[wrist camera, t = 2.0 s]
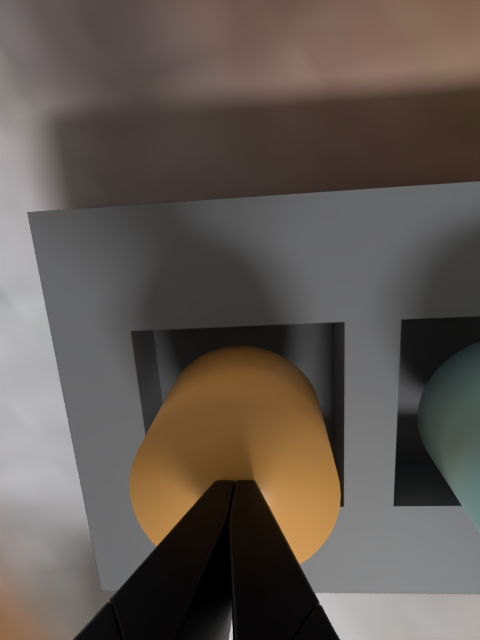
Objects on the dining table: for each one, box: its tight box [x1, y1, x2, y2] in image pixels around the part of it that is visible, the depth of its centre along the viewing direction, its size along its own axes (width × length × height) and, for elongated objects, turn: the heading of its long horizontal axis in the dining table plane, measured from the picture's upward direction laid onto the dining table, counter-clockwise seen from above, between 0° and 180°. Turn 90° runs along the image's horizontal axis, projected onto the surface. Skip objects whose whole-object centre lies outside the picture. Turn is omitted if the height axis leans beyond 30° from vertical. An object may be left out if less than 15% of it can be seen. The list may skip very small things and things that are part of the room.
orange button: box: [129, 346, 341, 564], centre depth 10 cm, size 4×4×3 cm
